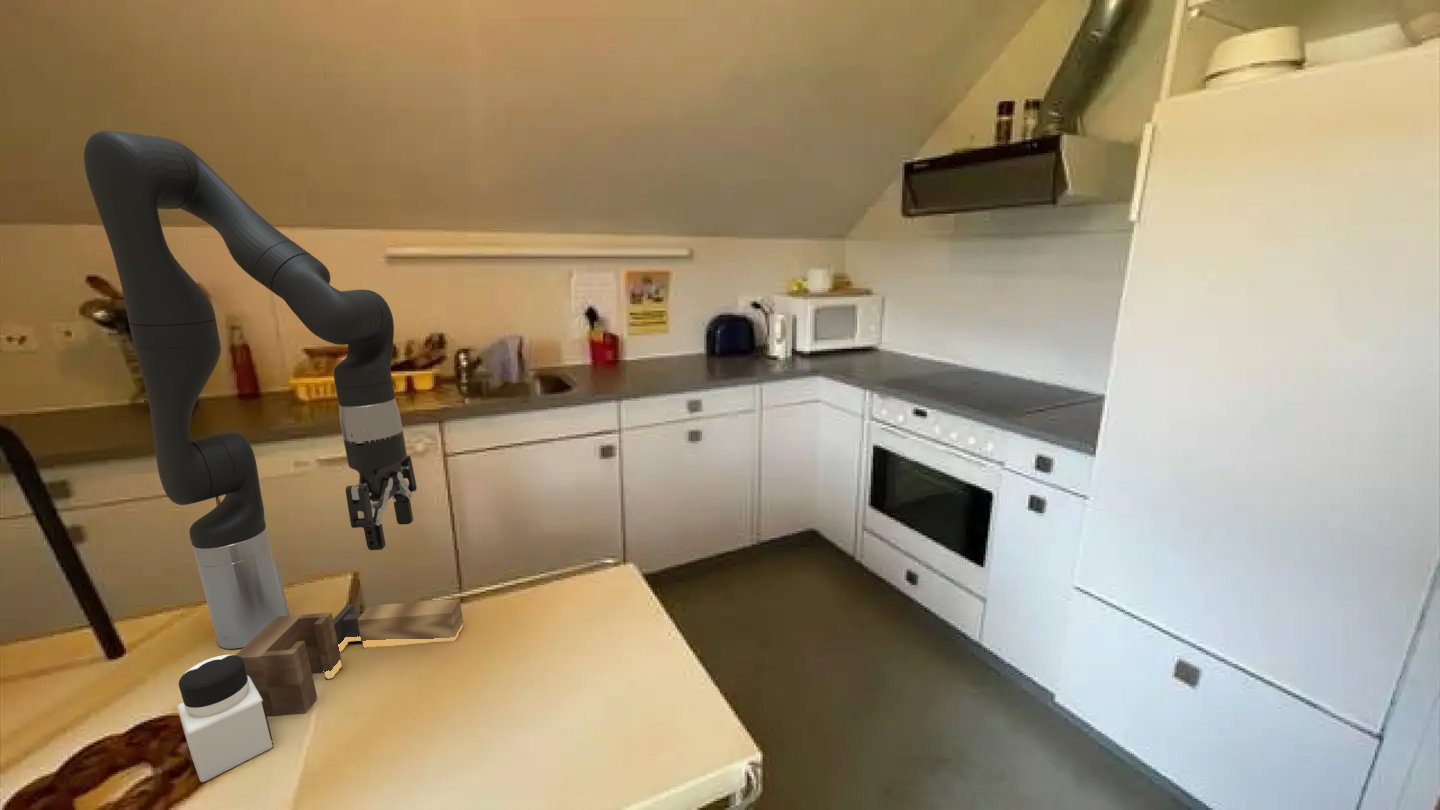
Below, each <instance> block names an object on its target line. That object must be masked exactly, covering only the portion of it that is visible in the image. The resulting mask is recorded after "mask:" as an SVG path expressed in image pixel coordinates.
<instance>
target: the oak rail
mask: <svg viewBox="0 0 1440 810" xmlns="http://www.w3.org/2000/svg"><path fill="white" fill-rule="evenodd" d="M462 611H463V610H462V605H461V599H460V598H456V599H455V598H454V599H443V600H429V601H417V602H416V601H413V602H404V603H403V602H402V603H390V604H389V603H388V604H386V603H385V604H377V605H375V604H374V605H369V606H368V607H367V608H366V609H365V610H364V612H358V613H355V608H354V604H346V605H345V606H344V607H343V608H342V609H341V610H340V611H339V613H338V614H337V615H336V616H334V617H333V622H334V627H335V632H336V637H337V642H338V644H340V643H341V642H342V641H343V640H344V638H345V637H357V636H358V637H359V636H360V637H361V641H366V640H386V639H434V638H450V637H455V636H456V634H457V632H458V630H459V629H460V627H461V625H462V623H463V624H464V619H463V613H462Z"/></svg>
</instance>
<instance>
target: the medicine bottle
mask: <svg viewBox="0 0 1440 810" xmlns="http://www.w3.org/2000/svg"><path fill="white" fill-rule="evenodd" d="M178 688H179V690H180V695H181V697H182V701H183V702H181V703H179V704H178V705H177V712H178V714H179V718H180V722H181V725H182V729H183V733H184V736H185V739H186V740H185V741H186V742H187V746H188V749H189V753H190V757H191V759H192V762H193V765H194V768H195V771H196V773H197V776H198V779H199V781H200V782H201V783H205V782H208V781H209V780H211V779H214V778H215V777H218V776H219V775H221V774H223V773H225V772H227V771H229V770H232V769H233V768H235V767H237V766H238V765H242V764H243V763H245V762H247V761H249V760H251V759H253V758H255V757H257V756H259V755H261V754H262V753H265V752H267V751H269V750H270V749H272V748H273V747H274V740H273V736H272V733H271V732H272V731H271V728H270V724H269V720H268V716H267V715H266V711H265V707H264V703H263V700H262V698H261V696H260V694H259V692H258V691H257V689H256V687H255V685H254V684H253V682H252V680H251V678H250V677H249V676H247V673H246V669H245V665H244V661H243V659H242V658H241V657H239V656H237V655H236V654H223V655H219V656H218V655H217V656H214V657H211V658H208V659H205V660H203V661H200V662H199V663H196V664H195V665H193V666H192V667H190V668H189V669H187V670H186V671H185V672H184V673H183V674H182V675H181V677H180V679H179V681H178Z"/></svg>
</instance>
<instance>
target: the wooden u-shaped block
mask: <svg viewBox="0 0 1440 810" xmlns="http://www.w3.org/2000/svg"><path fill="white" fill-rule="evenodd" d="M333 619H334V617H333V613H332V612H321V613H319V612H318V613H310V614H309V613H308V614H298V615H297V614H296V615H288V616H280V617H276V618H275V619H274V620H273V621H272V622H271V623H270V624H269V625H267V626H266V627H265V628H264V629H263V630H262V631H261V632H260V633H259V634H258V635H257V636H256V637H254V638H253V639H252V640H251V641H250V642H249V643H248V644H247V645H246V646H245V647H242V648H241V649H240V650H239V651H238V652H237V653H236V654H235V655H237V656H239V657H241V658H242V659H243V661H244V665H245V669H246V673H247V676H249V677H250V678H251V680H252V682H253V684H254V685H255V687H256V689H257V691H258V692H259V694H260V696H261V698H262V700H263V703H264V707H265V711H266V715H267V717H274V716H286V715H296V714H307V712H308V711H309V710H310V708H311V707H312V706H313V705H314V703H315V702H316V701H317V700H316V698H317V699H318V693H317V691H316V685H315V681H314V678H313V677H314V676H313V674H317V673H318V674H319V673H324V672H326V671H328V670H329V671H331V670H332V669H333V667H334V666H335V665H336V664H337V663H338V661H339V660H340V659H341V660H342V657H341V656H342V655H341V653H340V651H339V647H338V642H337V637H336V632H335V627H334V622H333ZM323 671H324V672H323Z"/></svg>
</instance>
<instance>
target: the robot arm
mask: <svg viewBox="0 0 1440 810" xmlns="http://www.w3.org/2000/svg"><path fill="white" fill-rule="evenodd" d="M83 162H84V170H85V174H86V178H87V182H88V186H89V189H90V192H91V194H92V198H93V200H94V202H95V206H96V208H97V211H98V215H99V217H100V220H101V223H102V225H103V228H104V231H105V233H106V236H107V240H108V242H109V245H110V248H111V251H112V256H113V258H114V263H115V267H116V270H117V274H118V277H119V281H120V286H121V290H122V294H123V298H124V299H123V300H124V303H125V308H126V314H127V320H128V327H129V330H130V335H131V339H132V343H133V347H134V350H135V354H136V357H137V361H138V366H139V368H140V373H141V375H142V380H143V384H144V385H143V386H144V389H145V392H146V393H145V394H146V397H147V401H148V406H149V414H150V421H151V427H152V436H153V442H154V450H155V451H154V453H155V458H156V465H157V471H158V476H159V479H160V482H161V486H162V489H163V491H164V493H165V494H166V496H167V497H168V499H169V500H170V501H171V502H172V503H174V504H175V505H180V506H187V505H192V504H195V503H196V504H197V503H200V502H203V501H207V500H210V499H211V500H212V499H214V498H218V497H221V496H224V495H225V496H224V498H222V500H221V502H220V503H219V504H217V506H216V507H214V508H213V509H211V511H209V512H208V513H206V514H204V515H203V516H201V517H199V519H197V520H196V521H195V522H193V523H192V524H191V526H190V527H189V532H188V533H189V539H190V542H191V545H192V549H193V553H194V556H195V557H194V558H195V561H196V564H197V568H198V572H199V577H200V580H201V585H202V588H203V590H204V595H205V600H206V603H207V606H208V610H209V614H210V617H211V618H210V619H211V622H212V627H213V630H214V634H215V638H216V642H217V645H218V646H219V647H220V648H223V649H229V650H230V649H240V648H241V649H243V648H244V647H245V646H246V645H247V644H248V643H249V642H250V641H251V640H252V639H253V638H254V637H256V636H257V635H258V634H259V633H260V632H261V631H262V630H263V629H264V628H265V627H266V626H267V625H269V624H270V623H271V622H272V621H273V620H274V619H275V618H276V617H280V616H290V611H289V606H288V603H287V599H286V598H287V597H286V594H285V589H284V584H283V580H282V575H281V571H280V568H279V564H276V563H275V560H274V555H273V550H272V545H271V543H270V537H269V533H268V528H267V525H266V521H265V507H264V506H265V505H264V502H263V498H262V491H261V486H260V479H259V470H258V465H257V460H256V456H255V453H254V449H253V448H252V446H251V443H250V442H249V441H248V439H247V438H246V436H244V435H242V434H241V433H240V432H235V431H229V432H224V433H217V434H213V435H209V436H203V437H199V438H195V439H190V427H191V426H190V425H191V419H192V415H193V411H194V408H195V405H196V403H197V401H198V399H199V397H200V395H201V394H202V391H203V389H204V388H205V387H206V384H207V383H208V381H209V379H210V378H211V376H212V374H213V373H214V370H215V368H216V367H217V364H218V362H219V359H220V357H221V351H222V346H221V339H220V335H219V329H218V324H217V323H218V322H217V319H216V318H217V317H216V313H215V309H214V307H213V304H212V302H211V300H210V298H208V296H207V294H206V293H205V292H204V290H202V288H201V287H200V286H199V284H198V283H197V282H196V281H195V280H194V279H193V278H192V277H191V275H190V274H189V273H188V271H186V270H185V269H184V268H183V266H182V265H181V264H180V263H179V261H178V260H177V259H176V258H175V256H174V255H173V253H172V251H171V250H170V248H169V246H168V244H167V241H166V237H165V234H164V232H163V228H162V223H161V220H160V214H159V210H179V209H180V210H183V211H185V212H186V213H189V214H191V215H193V216H195V217H196V218H199V219H200V220H201V221H203V222H206V224H208V225H210V226H211V227H212V228H213V229H215V230H216V231H217V233H219V235H220V236H221V238H222V239H223V241H224V243H225V246H226V248H227V250H228V253H229V254H230V256H231V257H232V258H233V260H234V261H235V263H236V264H237V266H239V268H241V269H242V270H243V271H244V272H245V273H246V274H247V275H249V276H250V277H251V278H253V279H254V280H255V281H257V282H258V283H259V284H261V285H262V286H264V287H265V288H266V289H268V290H269V291H271V292H272V293H273V294H274V295H276V296H277V297H279V298H281V299H283V301H284V302H285V304H286V305H287V306H288V308H289V309H290V310H291V311H292V312H293V314H294V315H295V316H296V317H297V318H298V319H299V320H300V321H301V323H302V324H303V325H304V326H305V327H306V328H307V329H308V331H310V333H312V334H314V335H315V336H316V337H318V338H319V339H321V340H323V341H325V342H328V343H329V344H330V343H331V344H334V345H338V346H341V345H342V346H345V345H346V346H347V354H346V357H345V358H344V359H343V360H342V361H341V362H339V363H337V365H336V366H335V367H334V369H333V381H334V386H335V392H336V397H337V398H336V399H337V403H338V408H339V424H340V429H341V433H342V439H343V440H342V441H343V444H344V450H345V455H346V459H347V464H348V467H349V468H350V469H352V470H354V471H356V472H358V475H359V480H358V484H354V485H347V486H346V488H345V496H346V502H347V507H348V508H347V509H348V514H349V521H350V527H351V528H352V529H354V528H355V529H357V528H362V529H363V531H364V537H365V542H366V546H367V550H370V551H380V550H383V549H384V548H385V547H386V544H387V543H386V541H385V540H386V539H385V534H384V529H383V528H384V527H383V524H382V523H381V521H382V518H383V512H384V511H385V510H386V509H387V508H388V502H389V500H390V499H392V500H393V501H394V502H393V508H394V512H395V518H396V523H397V524H398V525H410V524H412V522H413V521H414V517H413V516H414V515H413V511H412V505H411V500H412V498H413V494H412V493H413V492H416V491H417V489H418V488H417V481H416V477H415V472H414V466H413V461H412V457H411V455H408V452H407V449H406V448H407V446H406V442H405V436H404V430H403V425H402V418H401V412H400V409H399V406H398V403H397V400H396V399H397V398H396V394H395V388H394V381H393V377H392V372H391V371H392V370H391V365H392V359H393V348H394V347H393V346H394V338H395V337H394V336H395V335H394V334H395V333H394V332H395V326H394V325H395V324H394V317H393V312H392V311H391V308H390V306H389V305H388V302H387V301H386V300H385V298H384V297H382V296H381V295H380V294H379V293H378V292H375V291H373V290H371V289H353V290H352V289H351V290H342V291H340V290H338V289H337V288H335V287H334V286H332V285H331V284H330V283H331V272H330V271H329V269H328V268H327V266H326V265H325V264H324V263H323V262H322V261H320V259H318V258H316V257H315V256H314V255H313V254H311V253H310V252H309V251H307V250H306V249H304V248H303V247H302V246H301V245H299V244H297V243H296V242H295V241H293V240H291V239H290V238H289V237H287V236H286V235H285V234H283V233H282V232H281V231H280V230H278V229H277V228H275V226H273V225H272V224H271V223H269V221H268V220H266V219H264V218H263V216H261V215H260V214H259V213H258V212H257V211H256V210H254V209H253V208H252V207H251V206H250V205H249V204H248V202H246V201H245V200H244V199H243V198H242V197H241V196H240V195H239V194H238V193H237V192H236V191H235V190H234V189H233V188H232V187H231V186H230V185H229V184H228V183H226V182H225V180H224V179H223V178H222V177H221V176H220V175H219V174H218V173H217V172H216V171H215V170H214V169H213V168H212V167H211V166H210V165H209V164H208V163H207V162H206V161H204V160H203V159H202V158H201V157H200V156H199V155H198V154H197V153H196V152H194V151H193V150H192V149H191V148H189V147H188V146H187V145H185V144H183V143H181V142H179V141H176V140H174V139H171V138H168V137H161V136H154V135H148V134H147V135H146V134H139V133H133V132H126V131H118V130H117V131H116V130H100V131H97V132H95V133H93V134H92V135H91V136H90V137H89V138H87V141H86V143H85V146H84V152H83ZM405 479H407V480H408V482H407V481H406V480H405ZM373 511H374V513H373ZM359 512H360V515H359Z"/></svg>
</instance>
